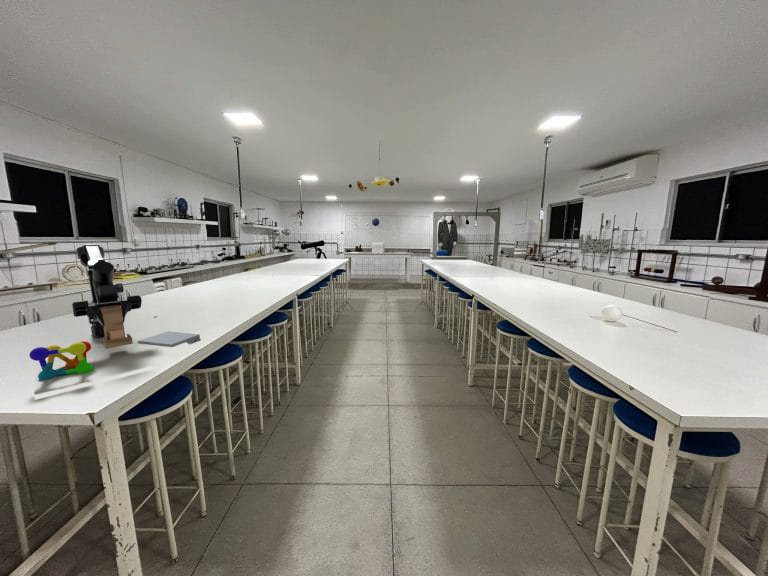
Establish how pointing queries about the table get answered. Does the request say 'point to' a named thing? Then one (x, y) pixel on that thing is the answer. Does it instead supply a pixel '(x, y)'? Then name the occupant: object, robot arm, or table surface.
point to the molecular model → (55, 351)
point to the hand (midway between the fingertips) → (113, 323)
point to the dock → (170, 338)
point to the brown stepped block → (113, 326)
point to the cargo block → (116, 334)
